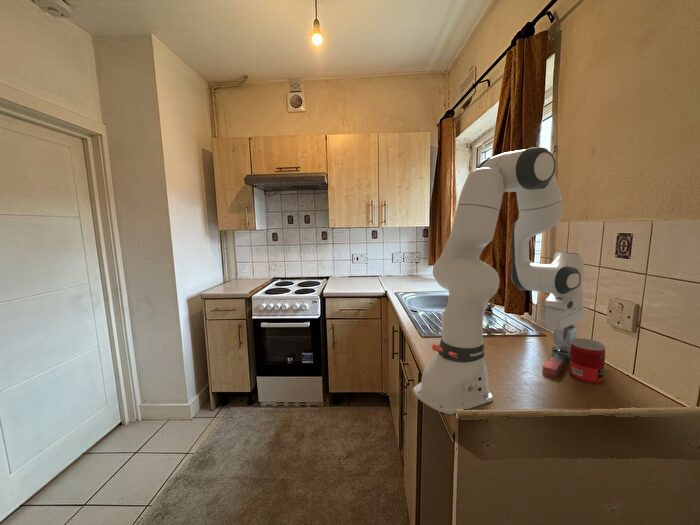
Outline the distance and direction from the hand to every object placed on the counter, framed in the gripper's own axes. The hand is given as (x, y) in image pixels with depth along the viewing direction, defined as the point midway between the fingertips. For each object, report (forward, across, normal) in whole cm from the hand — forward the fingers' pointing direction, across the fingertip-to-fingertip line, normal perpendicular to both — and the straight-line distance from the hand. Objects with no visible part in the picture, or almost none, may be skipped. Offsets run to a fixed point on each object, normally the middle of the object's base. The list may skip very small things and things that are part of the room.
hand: (564, 337), depth 99 cm
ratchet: (+7, +8, +1) cm, 10 cm away
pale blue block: (+3, 0, 0) cm, 3 cm away
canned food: (+7, +10, +10) cm, 16 cm away
